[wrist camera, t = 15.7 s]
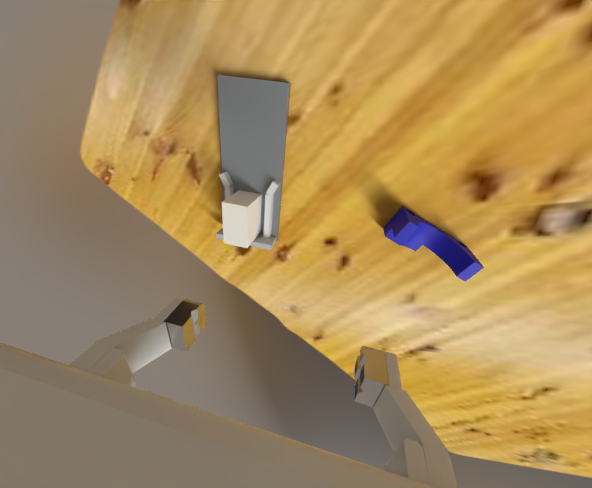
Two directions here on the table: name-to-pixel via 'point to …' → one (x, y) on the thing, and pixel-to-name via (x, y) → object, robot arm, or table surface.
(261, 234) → the mounting plate
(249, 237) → the panel block
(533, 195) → the table surface
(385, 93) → the table surface
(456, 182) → the table surface
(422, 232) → the cable clip
